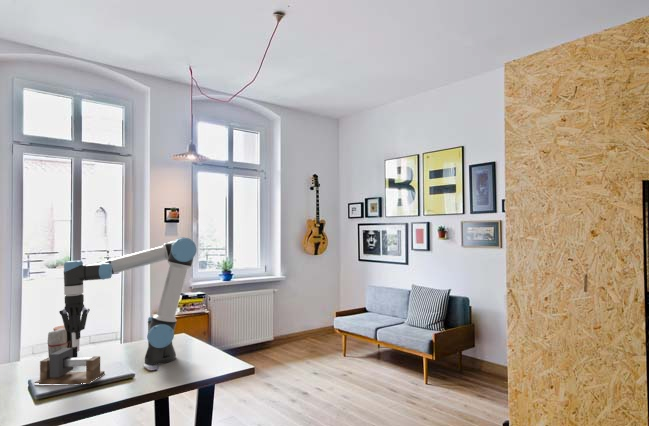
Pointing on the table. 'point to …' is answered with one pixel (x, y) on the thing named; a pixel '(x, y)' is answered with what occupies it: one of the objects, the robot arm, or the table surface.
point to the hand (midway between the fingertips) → (75, 346)
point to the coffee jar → (68, 341)
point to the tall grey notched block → (60, 362)
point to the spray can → (57, 340)
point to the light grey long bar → (74, 361)
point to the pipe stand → (71, 373)
